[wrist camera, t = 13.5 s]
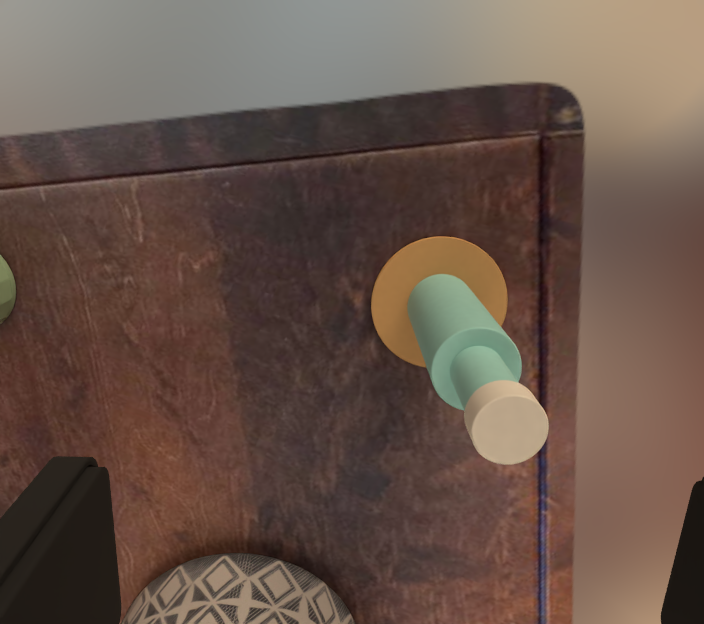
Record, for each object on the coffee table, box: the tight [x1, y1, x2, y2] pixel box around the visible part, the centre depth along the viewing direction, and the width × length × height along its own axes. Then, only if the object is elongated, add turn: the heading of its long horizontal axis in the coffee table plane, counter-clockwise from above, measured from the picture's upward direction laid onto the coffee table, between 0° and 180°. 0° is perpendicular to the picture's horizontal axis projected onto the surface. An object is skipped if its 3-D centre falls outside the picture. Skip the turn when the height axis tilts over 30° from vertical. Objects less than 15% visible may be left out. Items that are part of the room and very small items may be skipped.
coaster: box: [371, 236, 508, 367], centre depth 39 cm, size 9×9×1 cm
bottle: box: [407, 274, 549, 465], centre depth 31 cm, size 4×4×17 cm
